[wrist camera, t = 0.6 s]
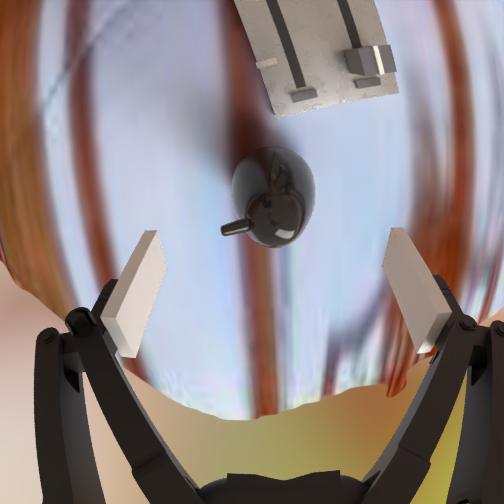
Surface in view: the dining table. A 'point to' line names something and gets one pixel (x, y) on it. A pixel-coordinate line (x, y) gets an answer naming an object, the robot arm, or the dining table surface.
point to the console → (313, 51)
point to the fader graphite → (370, 60)
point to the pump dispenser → (272, 197)
